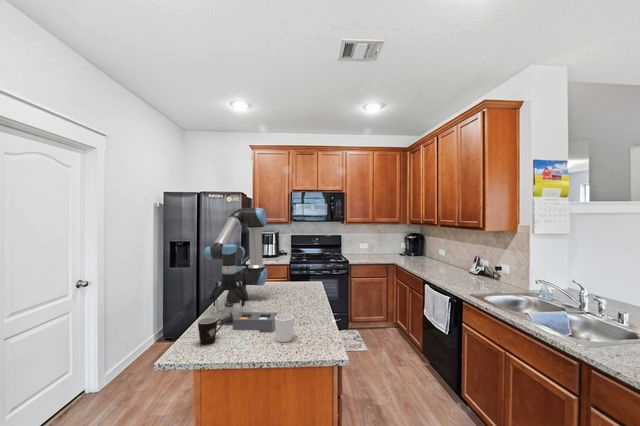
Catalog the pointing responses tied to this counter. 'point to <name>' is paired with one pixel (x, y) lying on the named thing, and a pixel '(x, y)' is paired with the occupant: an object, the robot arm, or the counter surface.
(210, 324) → the coffee mug
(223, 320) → the plate
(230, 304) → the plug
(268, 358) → the counter surface
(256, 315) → the socket block
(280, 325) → the mug
